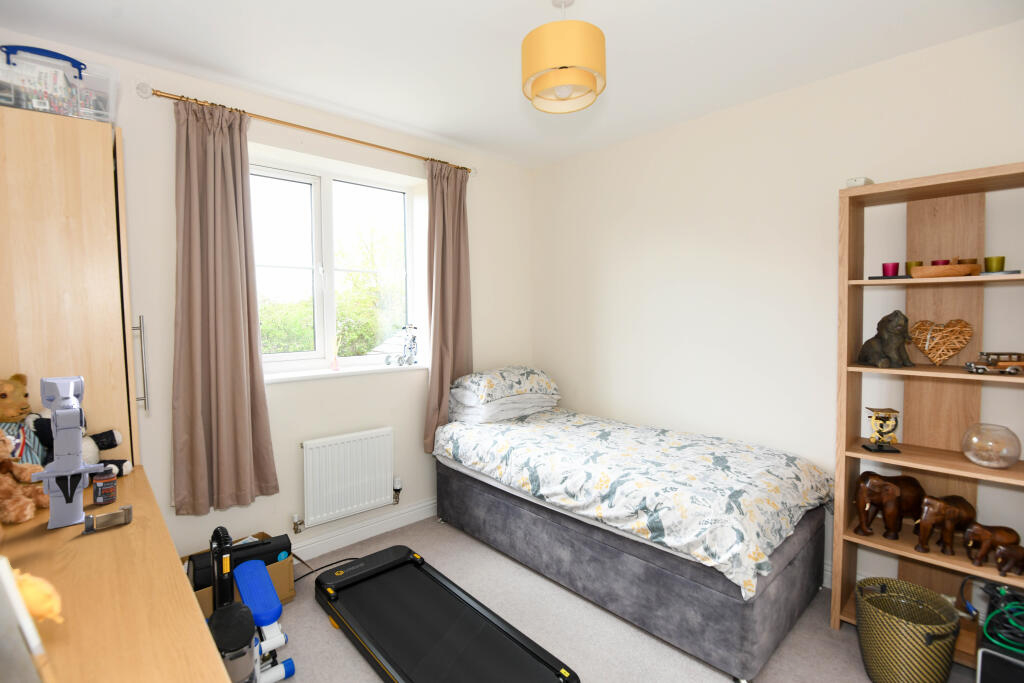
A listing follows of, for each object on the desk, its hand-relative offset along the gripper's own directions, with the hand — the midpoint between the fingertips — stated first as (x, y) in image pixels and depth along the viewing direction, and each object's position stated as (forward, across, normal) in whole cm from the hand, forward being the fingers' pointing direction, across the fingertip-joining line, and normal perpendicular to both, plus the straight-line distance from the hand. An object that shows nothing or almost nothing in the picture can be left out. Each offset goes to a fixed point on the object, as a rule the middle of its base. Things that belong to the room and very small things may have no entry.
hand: (69, 502), depth 133 cm
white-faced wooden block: (+10, +12, +5) cm, 16 cm away
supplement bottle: (+10, +8, +29) cm, 32 cm away
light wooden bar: (+10, +9, +3) cm, 14 cm away
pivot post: (+10, +4, +2) cm, 11 cm away
